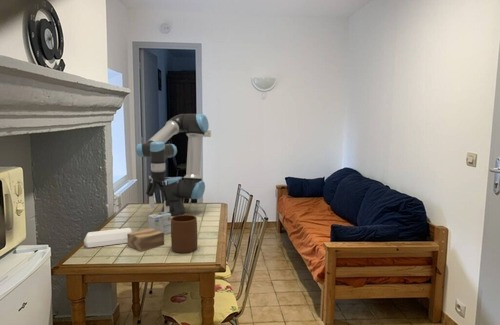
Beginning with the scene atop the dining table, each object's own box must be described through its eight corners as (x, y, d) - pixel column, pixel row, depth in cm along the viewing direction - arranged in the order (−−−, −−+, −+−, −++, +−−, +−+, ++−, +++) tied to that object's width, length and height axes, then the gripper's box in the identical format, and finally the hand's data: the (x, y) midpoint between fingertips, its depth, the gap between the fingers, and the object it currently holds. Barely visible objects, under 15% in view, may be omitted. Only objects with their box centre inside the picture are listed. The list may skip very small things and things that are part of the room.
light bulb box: (165, 229, 214) (164, 211, 212) (172, 232, 209) (171, 213, 207) (148, 234, 206) (147, 214, 205) (154, 237, 201) (154, 217, 200)
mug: (175, 239, 197) (174, 210, 195) (199, 239, 198) (199, 210, 196) (169, 254, 178) (168, 222, 175) (196, 253, 178) (195, 221, 176)
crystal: (133, 230, 201) (83, 235, 192) (134, 226, 195) (83, 232, 186) (134, 244, 199) (84, 250, 190) (135, 241, 192) (83, 247, 183)
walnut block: (127, 245, 188) (127, 233, 188) (150, 239, 198) (149, 227, 197) (141, 251, 181) (140, 238, 180) (164, 244, 190) (163, 232, 189)
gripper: (138, 169, 208) (140, 207, 211) (166, 174, 192) (167, 215, 194) (150, 167, 214) (151, 205, 216) (178, 172, 197) (179, 212, 200)
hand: (159, 210), depth 205 cm, fingers open, 13 cm apart
